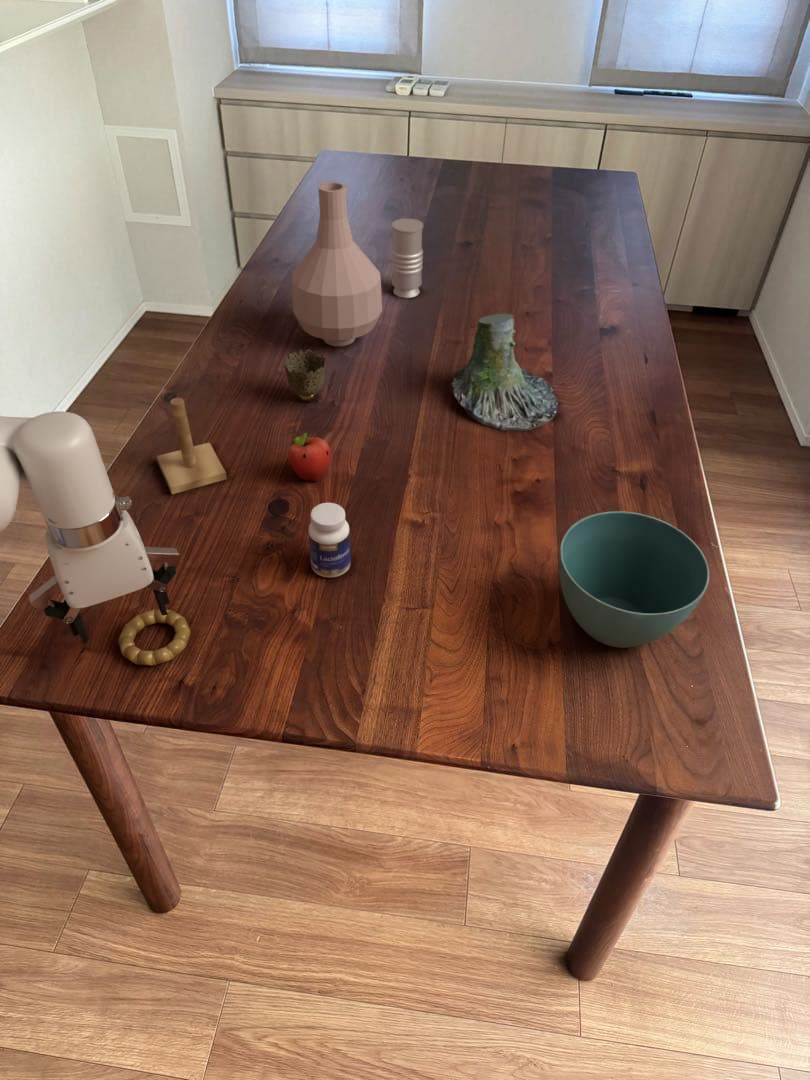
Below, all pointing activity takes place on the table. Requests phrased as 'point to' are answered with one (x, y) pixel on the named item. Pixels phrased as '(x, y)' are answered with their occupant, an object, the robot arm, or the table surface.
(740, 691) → the table surface
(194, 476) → the post stand
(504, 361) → the tree stump
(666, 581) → the teal bowl
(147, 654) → the ring
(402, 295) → the ribbed beige cylinder
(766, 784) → the table surface
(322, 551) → the pill bottle
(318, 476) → the apple
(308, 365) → the cup
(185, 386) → the table surface
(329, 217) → the vase
